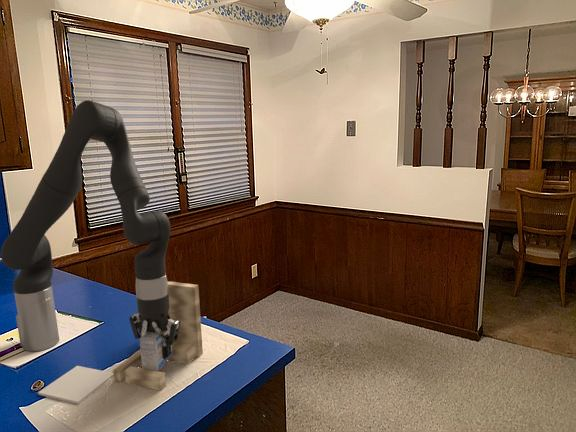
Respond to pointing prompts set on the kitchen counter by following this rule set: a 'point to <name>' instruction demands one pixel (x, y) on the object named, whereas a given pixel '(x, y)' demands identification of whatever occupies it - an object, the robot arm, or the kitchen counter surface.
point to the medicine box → (152, 351)
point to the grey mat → (76, 384)
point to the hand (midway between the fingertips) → (157, 355)
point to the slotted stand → (183, 350)
